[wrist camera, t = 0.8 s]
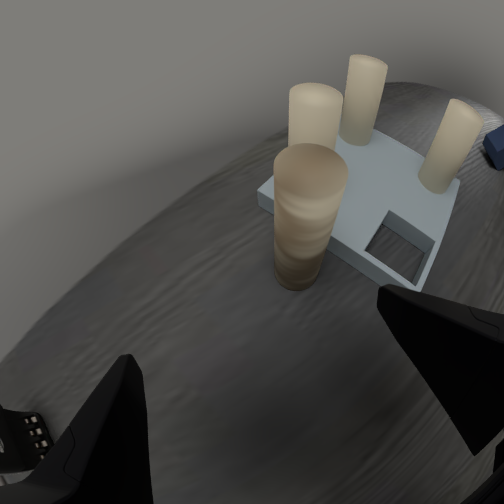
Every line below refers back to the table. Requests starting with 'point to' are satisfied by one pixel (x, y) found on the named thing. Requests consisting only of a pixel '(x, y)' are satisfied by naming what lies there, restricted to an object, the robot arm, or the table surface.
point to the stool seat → (380, 169)
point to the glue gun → (495, 146)
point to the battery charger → (22, 441)
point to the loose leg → (305, 210)
